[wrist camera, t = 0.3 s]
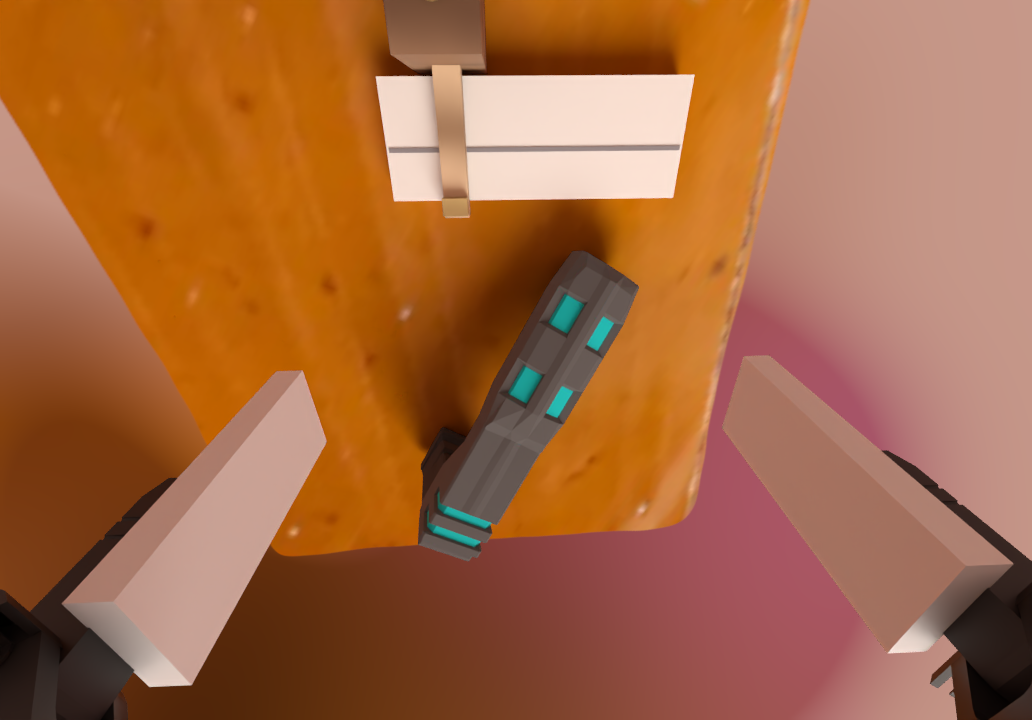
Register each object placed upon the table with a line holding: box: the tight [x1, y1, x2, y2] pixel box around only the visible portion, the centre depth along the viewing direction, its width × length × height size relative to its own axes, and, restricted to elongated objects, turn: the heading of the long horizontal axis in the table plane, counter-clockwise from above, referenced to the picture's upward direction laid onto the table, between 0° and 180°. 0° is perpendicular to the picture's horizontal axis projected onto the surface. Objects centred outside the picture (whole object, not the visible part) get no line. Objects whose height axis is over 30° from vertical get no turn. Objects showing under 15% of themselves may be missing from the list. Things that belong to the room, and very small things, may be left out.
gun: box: [418, 251, 639, 561], centre depth 40 cm, size 7×29×15 cm, turn 148°
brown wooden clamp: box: [383, 0, 487, 218], centre depth 26 cm, size 15×5×10 cm, turn 0°
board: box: [376, 75, 694, 201], centre depth 31 cm, size 8×22×3 cm, turn 90°
